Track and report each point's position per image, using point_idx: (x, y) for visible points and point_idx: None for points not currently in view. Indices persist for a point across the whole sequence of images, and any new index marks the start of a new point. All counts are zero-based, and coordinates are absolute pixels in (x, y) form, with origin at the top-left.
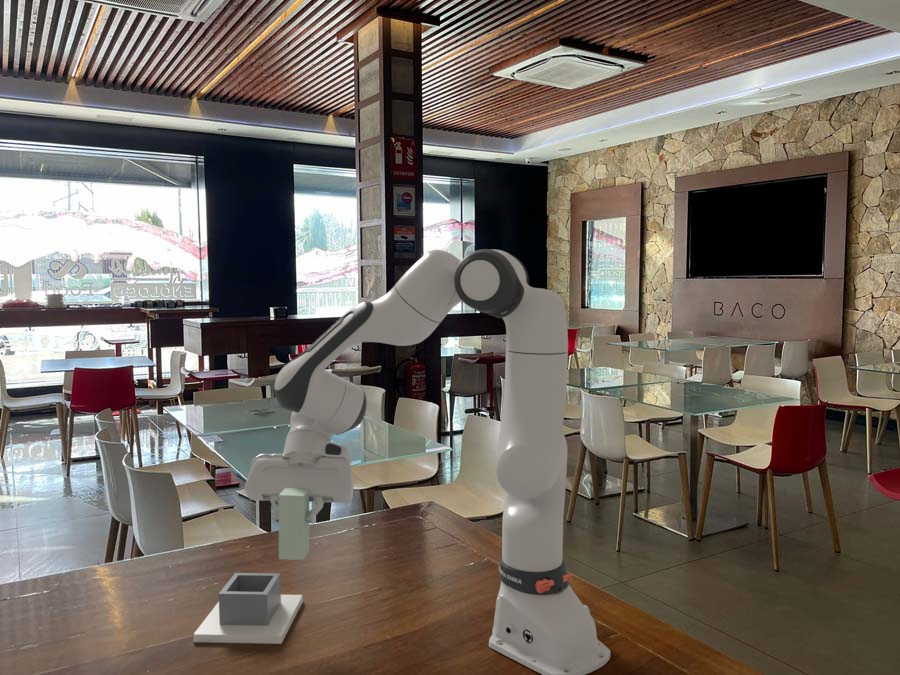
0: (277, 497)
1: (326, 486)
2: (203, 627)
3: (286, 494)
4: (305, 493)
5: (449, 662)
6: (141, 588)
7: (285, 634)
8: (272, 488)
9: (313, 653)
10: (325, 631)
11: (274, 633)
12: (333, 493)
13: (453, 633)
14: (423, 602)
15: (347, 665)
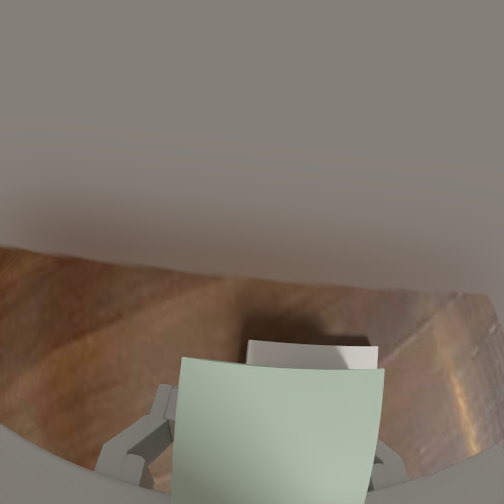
0: (375, 479)
1: (47, 500)
2: (371, 365)
3: (334, 388)
4: (175, 421)
5: (37, 262)
6: (452, 461)
7: (245, 363)
8: (426, 495)
9: (194, 308)
10: None
11: (261, 347)
12: (21, 442)
13: (20, 327)
14: (46, 424)
15: (146, 271)
